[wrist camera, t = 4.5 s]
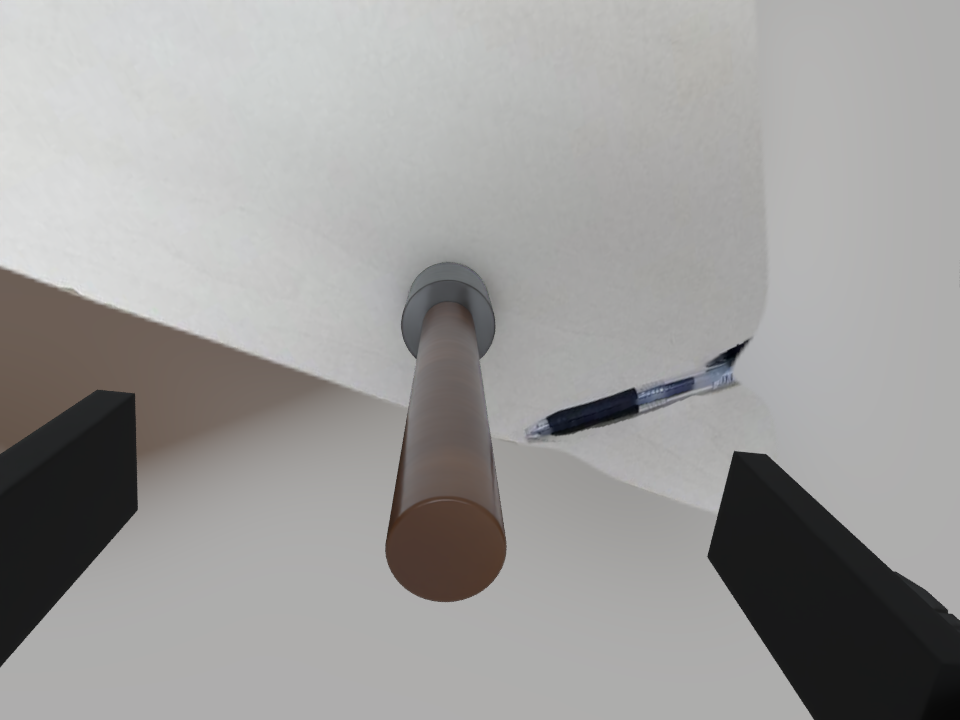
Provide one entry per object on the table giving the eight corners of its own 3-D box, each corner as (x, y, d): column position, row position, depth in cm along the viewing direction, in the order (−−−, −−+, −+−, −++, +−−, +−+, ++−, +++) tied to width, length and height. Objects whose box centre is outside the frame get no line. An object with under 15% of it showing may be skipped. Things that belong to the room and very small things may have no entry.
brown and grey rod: (493, 267, 33) (572, 461, 12) (483, 345, 34) (538, 652, 13) (412, 257, 32) (342, 440, 11) (404, 336, 34) (327, 636, 12)
